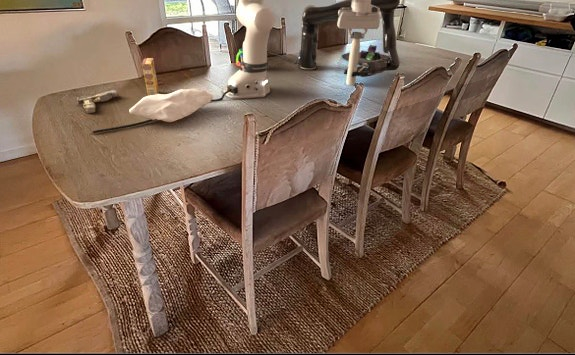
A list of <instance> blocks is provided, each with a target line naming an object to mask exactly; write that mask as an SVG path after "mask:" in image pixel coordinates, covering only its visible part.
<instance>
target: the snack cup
mask: <svg viewBox="0 0 575 355" xmlns="http://www.w3.org/2000/svg"><path fill="white" fill-rule="evenodd" d="M237 61H239V62H240V63H241V62H242V61H243V47H242V48H239V49H238V52H237V53H236V58H235V63H236V62H237Z"/></svg>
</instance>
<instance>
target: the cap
mask: <svg viewBox="0 0 575 355" xmlns="http://www.w3.org/2000/svg"><path fill="white" fill-rule="evenodd" d="M351 34H352V35H353V38H354V39H360V40H362V39H361V36H362V34H363V32H361V31H352V32H351ZM353 38H352V39H353Z"/></svg>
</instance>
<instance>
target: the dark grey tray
mask: <svg viewBox="0 0 575 355" xmlns="http://www.w3.org/2000/svg"><path fill="white" fill-rule="evenodd" d="M377 48H378V46H377V45H374V44H369V46H368V48H367V50H360V52H359V59H358V64H360V65H361V64H362V63H364V62H368V61H376V60H380V59H383V58H390V56H389V55H386V54H383V53H380V51H378V52H377ZM349 55H350V52H347V53H343V54H342V55H341V58H343V60H346V61H348V62H349Z"/></svg>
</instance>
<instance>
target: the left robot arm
mask: <svg viewBox="0 0 575 355" xmlns="http://www.w3.org/2000/svg"><path fill="white" fill-rule="evenodd" d="M341 9H342V10H341ZM341 9H340V10H339V12H338V16H339V18H338V20H337V23H336V24H337V27H338V29H341V30H343V29H345V30H347V32H348V38H349V39H353V35H352V32H353V30H363V32H362V36H361V39H360V40H364V39H365V35H366V34H367V33H368V30H378V29H379V28H380V24H381V23H380V22H381V14H380V13H381V11H380V8H378V7H376V6H374V5H372V4H371V0H352V4H351V7H342V8H341ZM235 15H236V18H237V20H238V21H239V23H240V24H241V25H242V26H244V27H245V28H246V32H245V37H244V41H243V42H242V48H243V61H242V62H241V61H240V60H239V61H237V62H236V61H235V65H236V66H237V67H239V69H237V71H236V72H235V73H234V74H232V75H231V76H230V77H229V78H228V81H227V85H226V87H224V88H223V91H222V92H223V94H222V96H221V97H220V98H216V99H212V100H211V101H210V102H219V101H223V99H224V98H225V96H226V97H228V98H230V99H233V100H236V99H237V100H238V99H239V100H240V99H253V98H254V99H255V98H264V97H266V95H268V94H269V93H270V92H271V88H270V84H269V78H268V76H269V75H268V72H269V61H268V52H267V51H268V43H269V37H270V33H271V30H272V29H273V28H274V25H275V15H274V13H273V11H272V10H271V9H270V8H269V7H267V6H266V5H264V0H238V4H237V6H236V10H235ZM157 120H158V119H155V120H152V119H146V120H143V121H139V122H135V123H130V124H125V125H120V126H114V127H110V128H100V129H96V130H95V129H94V130H92V133H93V134H98V133H104V132H109V131H115V130H121V129H126V128H131V127H135V126H136V127H137V126H140V125H143V124H147V123H148V124H149V123H151V122H154V121H157ZM158 121H159V120H158Z"/></svg>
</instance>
